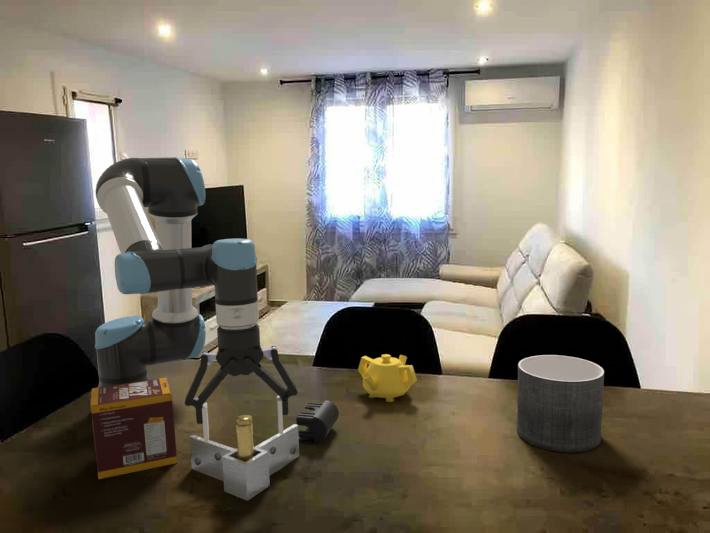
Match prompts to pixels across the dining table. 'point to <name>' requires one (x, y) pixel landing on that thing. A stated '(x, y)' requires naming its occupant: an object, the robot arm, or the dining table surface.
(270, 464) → the hinge leaves
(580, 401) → the planter
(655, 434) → the dining table surface
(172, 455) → the supplement box
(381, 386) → the teapot
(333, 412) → the end cap
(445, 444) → the dining table surface
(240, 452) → the hinge pin
